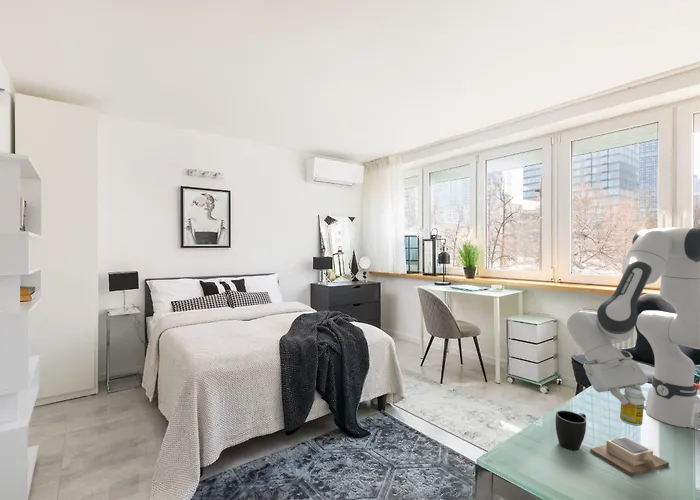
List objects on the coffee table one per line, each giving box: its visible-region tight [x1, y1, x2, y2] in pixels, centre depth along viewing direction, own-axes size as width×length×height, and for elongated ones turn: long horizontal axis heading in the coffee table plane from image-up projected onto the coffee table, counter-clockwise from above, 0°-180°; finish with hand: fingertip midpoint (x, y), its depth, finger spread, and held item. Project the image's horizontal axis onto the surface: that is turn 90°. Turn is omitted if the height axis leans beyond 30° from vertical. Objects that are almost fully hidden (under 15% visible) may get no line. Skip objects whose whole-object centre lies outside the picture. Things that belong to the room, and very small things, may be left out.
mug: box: [554, 410, 587, 452], centre depth 117 cm, size 8×12×10 cm
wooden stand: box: [589, 435, 670, 477], centre depth 110 cm, size 16×12×4 cm
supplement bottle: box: [619, 388, 645, 427], centre depth 110 cm, size 5×5×10 cm
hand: (634, 402), depth 109 cm, fingers closed on supplement bottle, 5 cm apart
